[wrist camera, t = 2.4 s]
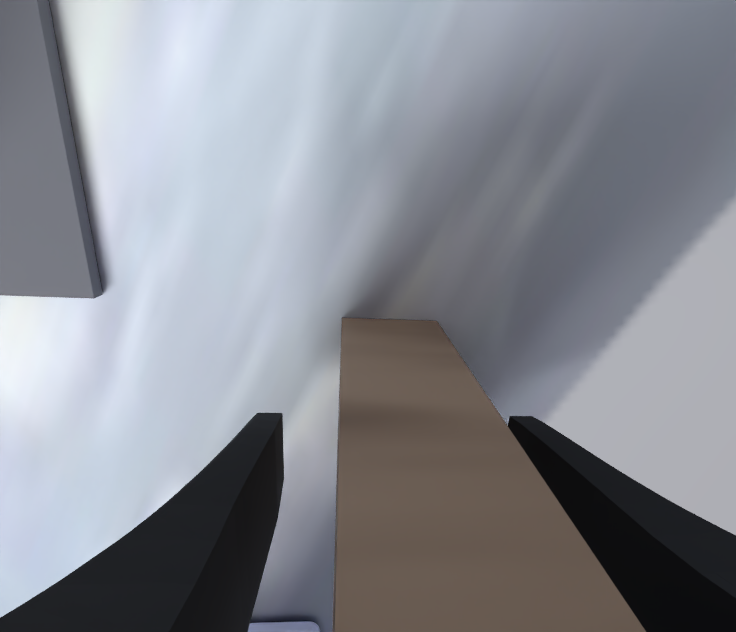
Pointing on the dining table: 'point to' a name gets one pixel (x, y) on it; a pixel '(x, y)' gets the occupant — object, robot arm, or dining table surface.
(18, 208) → the mat
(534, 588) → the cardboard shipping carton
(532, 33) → the dining table surface
